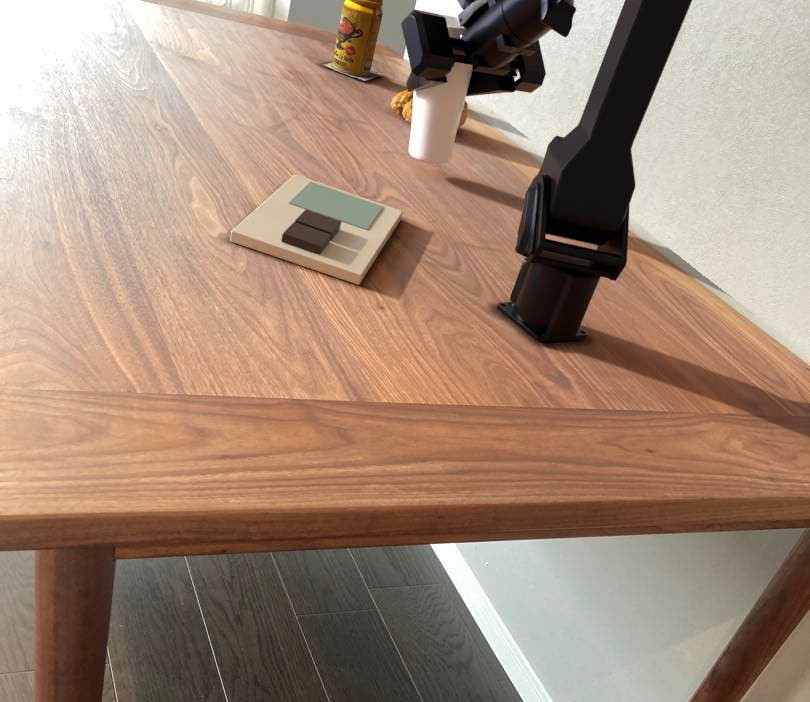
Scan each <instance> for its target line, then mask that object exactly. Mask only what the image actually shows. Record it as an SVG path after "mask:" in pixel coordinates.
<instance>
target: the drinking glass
mask: <svg viewBox="0 0 810 702" xmlns="http://www.w3.org/2000/svg"><path fill="white" fill-rule="evenodd" d="M440 15H441V16H443V17H445V18H446V23H447V27H448V32H449V37H452V38H457V39H460V35H461V34H462V33H463V32H464V27H462V26H460V22H459V18H458V16H452V15H447V14H446V15H445V14H440ZM472 71H473V68H472V67H471V66H465V65H459V64H454V66H453V67H452V69H451V71H450V72H449V73H448V74H447V75H446V78H447V83H445V84H441V85H437V86H433V87H429V88H426V89H422V90H418V91H414V94H413V108H412V122H411V123H410V136H409V143H408V153H409V155H410V157H412V158H413V159H414V160H416V161H419V162H422V163H424V164H425V163H426V164H432V165H443V164H446V163H449V162H450V161H451V159H452V157H453V151H454V146H455V141H456V137H457V133H458V130H459V129H458V125H459V121H460V117H461V114H462V110H463V106H464V102H465V101H466V98H467V96H466V94H467V91H468V87H469V83H470V79H471V75H472Z"/></svg>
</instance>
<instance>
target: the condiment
mask: <svg viewBox="0 0 810 702" xmlns="http://www.w3.org/2000/svg"><path fill="white" fill-rule="evenodd" d="M383 2H384V0H345V1H344V2H343V6H342V11H341V15H340V21H339V26H338V30H337V31H338V32H337V36H336V41H335V45H334V50H333V56H332V62H329V63H324V64H321V65H322V66H325V67H326V68H329V69H331V70H333V71H336V72H338V73H341V74H344V75H346V76H348V77H351V78H356V79H359V80H361V81H364V82H365V81H370V80H373V79H375V78H376V77H381V76H382V75H384V73H381V72H377V71H373V70H372V66H373V61H374V55H375V51H376V47H377V42H378V38H379V33H380V28H381V25H382V21H383V15H384V14H383V5H384V3H383Z"/></svg>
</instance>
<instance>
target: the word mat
mask: <svg viewBox="0 0 810 702" xmlns="http://www.w3.org/2000/svg"><path fill="white" fill-rule="evenodd" d="M403 213H404V211H403V210H401V209H398V208H395V207H393V206H390V205H386V204H384V203H381V202H377V201H375V200H371V199H368V198H365V197H363V196H361V195H357V194H354V193H352V192H349V191H345V190H342V189H339V188H338V187H337V188H336V187H333V186H331V185H328V184H325V183H322V182H320V181H316V180H313V179H310V178H307V177H304V176H301V175H298V174H296V173H295V174H293V175H292V176H291V177H290V178H289V179H287V180H286V181H285V182H284V183H283V184H282V185H281V186H280V187H279V188H278V189H276V190H275V191H274V192H273V193H272V194H271V195H270V196H268V198H266V199H265V200H264V201H263V202H262V203H261V204H259V206H258V207H257V208H255V209H254V210H253V211H252V212H251V213H249V214H248V216H246V217H245V218H244V219H243V220H242V221H241V222H240V223H238V224H237V225H236V226H235V227H234V228H233V229H232V230H231V232H230V237H229V242H231V243H234V244H237V245H240V246H243V247H246V248H248V249H252V250H255V251H257V252H260V253H263V254H267V255H270V256H273V257H275V258H278V259H281V260H284V261H287V262H290V263H293V264H295V265H299V266H302V267H305V268H307V269H309V270H313V271H317V272H319V273H322V274H325V275H328V276H331V277H334V278H337V279H340V280H341V281H342V280H343V281H345V282H348V283H352V284H354V285H357V286H359V285H360V284H361V282H362V281H363V280H364V278H365V276H366V275H367V273H368V271H369V270H370V268H371V267H372V266H373V264H374V262H375V260H376V259H377V257H378V256H379V254H380V253H381V251H382V249H383V248H384V246H385V245H386V244H387V242H388V240H389V239H390V237H391V236H392V234H393V233H394V231H395V229H396V228H397V226H398V225H399V223H400V221H401V220H402V217H403Z"/></svg>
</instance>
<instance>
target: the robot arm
mask: <svg viewBox="0 0 810 702" xmlns="http://www.w3.org/2000/svg"><path fill="white" fill-rule="evenodd" d="M457 2H458V4H459V6H460V8H461V9H462V11H460V13H459V14H458V15H457V18H459V22H460V26H462V27H464V32H463V33H462V34H461V35H460V39H457V38H452V37H449V32H448V27H447V23H446V18H445V17H443V16H441V15H442V14H439V13H435V12H429V11H425V10H420V9H415V8H414V9H412V11H411V12H410V13H409V14H408V15H406V16H405V17H404V18H403V20H402V21H401V23H400V25H401V29H402V34H403V38H404V43H405V47H406V52H407V57H408V61H409V67H410V70H411V71H410V73H409V75H408V77H407V80H406V83H405V84H406V85H405V86H406V90H408V92H413V91H418V90H422V89H426V88H429V87H433V86H437V85H441V84H445V83H447V78H446V75H447V74H448V73H449V72H450V71H451V69H452V67H453V66H454V64H459V65H465V66H471V67H472V68H473V71H472V75H471V79H470V83H469V87H468V91H467V94H466V97H475V96H485V95H494V94H506V93H508V94H509V93H510V94H513V93H514V92H522V93H529V94H532V93H533V92H535V91H536V90H538V89H539V88H540V87H542V86H543V83H544V80H545V77H546V75H547V72H546V71H547V70H546V67H545V62H544V57H543V54H542V50H541V49H542V48H541V44H540V39H541V38H543V37H544V36H545V35H546V34H548V33H549V32H550V31H551V30H552V31H554V32H555V33H556V34H558V35H560V36H561V37H563V38H567V37H568V36H569V35H570V33H571V30H572V29H573V19H574V16H575V13H576V11H577V7H576V6H575V0H457ZM692 2H693V0H624V2H623V5H622V8H621V10H620V12H619V16H618V18H617V20H616V24H615V25H614V30H613V32H612V33H611V37H610V40H609V42H608V45H607V47H606V50H605V53H604V55H603V57H602V61H601V64H600V66H599V68H598V72H597V74H596V77H595V79H594V83H593V85H592V87H591V90H590V93H589V96H588V99H587V101H586V104H585V106H584V109H583V111H582V112H583V113H582V114H581V117H580V119H579V122H578V124H577V125H576V126H575V127H574V128H573V129H572V130H570V131H569V132H568V133H567V134H566V135H565V136H560V135H555V136H554V137H553V138H552V140H551V141H550V142H549V143H548V144H547V148H546V151H545V154H544V159H543V160H542V163H541V166H540V169H539V171H538V173H537V174H536V175H535V176H534V178H533V179H532V181H531V183H530V184H529V185H528V187H527V190H526V191H525V196H524V202H523V203H524V204H523V208H522V211H521V217H520V221H519V225H518V230H517V238H516V244H515V247H514V251H515V252H516V253H517V254H519V255H521V256H523V257H525V258H524V259H523V261H522V263H521V266H520V269H519V271H518V274H517V276H516V280H515V282H514V285H513V288H512V290H511V293H510V298H509V302H508V301H507V302H498V303H497V306H496V309H497V310H498V311H499V312H500V313H502V314H503V315H504V316H505V317H506V318H508V319H509V320H510V321H512V322H513V323H514V324H515V325H517V327H519V328H520V329H521V330H522V331H524V332H525V333H526V334H527V335H529V336H530V337H531V338H532V339H533V340H535V341H536V342H540V343H548V342H550V343H551V342H563V341H576V340H586V339H587V337H588V335H589V333H588V332H587V331H586V330H584V329H583V328H582V327H581V325H582V322H583V320H584V317H585V315H586V313H587V310H588V309H589V306H590V303H591V300H592V298H593V296H594V294H595V291H596V289H597V287H598V284H599V282H600V280H601V278H604V279H608V280H610V281H617V279H618V278H619V276H620V275H621V274H622V272H623V270H625V267H626V266H627V264H628V263H627V262H628V246H629V245H628V244H629V225H630V203H631V201H632V198H633V195H634V193H635V190H636V177H635V169H634V160H633V152H632V149H633V144H634V142H635V140H636V138H637V135H638V133H639V131H640V130H639V129H640V128H641V125H642V123H643V120H644V118H645V116H646V114H647V111H648V108H649V106H650V103H651V101H652V99H653V96H654V94H655V91H656V89H657V87H658V85H659V82H660V79H661V78H662V75H663V72H664V70H665V67H666V65H667V63H668V60H669V58H670V55H671V53H672V50H673V48H674V45H675V43H676V42H677V38H678V36H679V34H680V31H681V29H682V26H683V23H684V22H685V19H686V17H687V15H688V11H689V9H690V7H691V4H692ZM518 73H519V74H518ZM518 75H519V78H518V79H516V80H515V78H517V77H518ZM546 235H548V236H553V237H557V238H560V239H566V240H571V241H575V242H580V243H584V244H588V245H593V246H596V249H594V248H590V247H586V246H581V245H577V244H571V243H568V242H564V241H563V242H562V241H560V240H553V239H550V238H546V237H547V236H546Z"/></svg>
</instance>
